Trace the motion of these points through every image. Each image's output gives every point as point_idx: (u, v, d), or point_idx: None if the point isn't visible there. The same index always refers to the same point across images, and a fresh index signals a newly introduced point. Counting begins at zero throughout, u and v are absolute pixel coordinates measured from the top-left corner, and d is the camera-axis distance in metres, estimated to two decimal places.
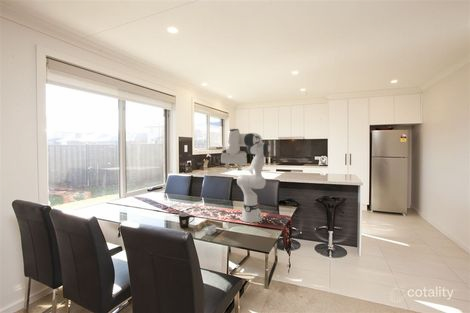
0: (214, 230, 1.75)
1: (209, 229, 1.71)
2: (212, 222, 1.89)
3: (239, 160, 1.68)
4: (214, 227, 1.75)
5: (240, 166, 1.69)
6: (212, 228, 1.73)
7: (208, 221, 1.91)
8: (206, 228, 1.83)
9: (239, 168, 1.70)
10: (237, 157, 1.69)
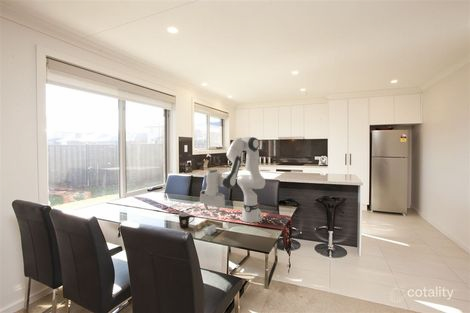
0: (214, 230, 1.76)
1: (209, 229, 1.71)
2: (212, 222, 1.89)
3: (217, 202, 1.68)
4: (214, 227, 1.75)
5: (218, 208, 1.69)
6: (212, 228, 1.73)
7: (208, 221, 1.91)
8: (206, 228, 1.83)
9: (217, 210, 1.70)
10: (215, 199, 1.69)
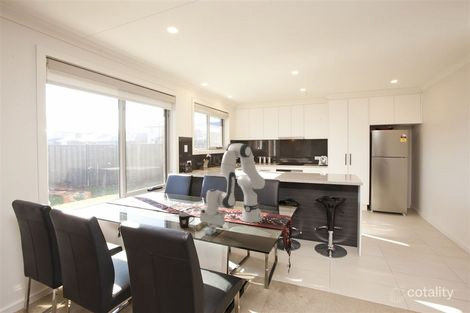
0: (214, 230, 1.75)
1: (209, 229, 1.71)
2: None
3: (217, 221, 1.69)
4: None
5: (215, 226, 1.72)
6: (212, 228, 1.73)
7: None
8: (206, 228, 1.83)
9: (214, 228, 1.72)
10: (215, 218, 1.70)
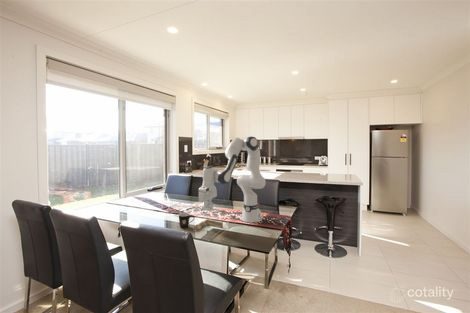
0: None
1: (212, 204, 1.81)
2: (212, 222, 1.89)
3: (214, 194, 1.86)
4: None
5: (211, 200, 1.85)
6: None
7: (208, 221, 1.91)
8: (206, 228, 1.83)
9: None
10: (212, 192, 1.85)
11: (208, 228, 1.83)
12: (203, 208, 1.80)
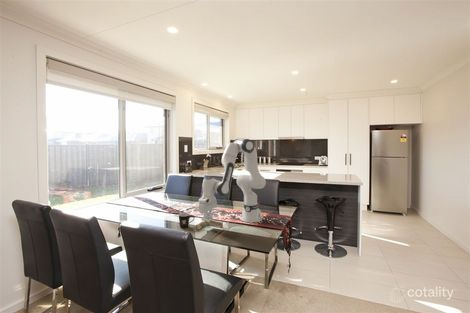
0: None
1: (212, 215, 1.81)
2: (212, 222, 1.89)
3: (214, 205, 1.87)
4: None
5: (211, 211, 1.85)
6: None
7: None
8: (206, 228, 1.83)
9: None
10: (212, 203, 1.85)
11: (208, 228, 1.83)
12: (203, 219, 1.80)
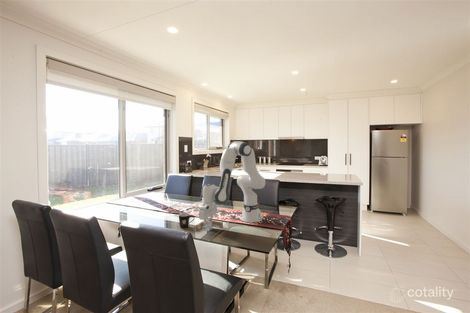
0: None
1: (212, 223, 1.82)
2: None
3: (214, 211, 1.87)
4: None
5: (212, 216, 1.87)
6: None
7: None
8: None
9: None
10: (212, 209, 1.86)
11: None
12: (203, 227, 1.81)
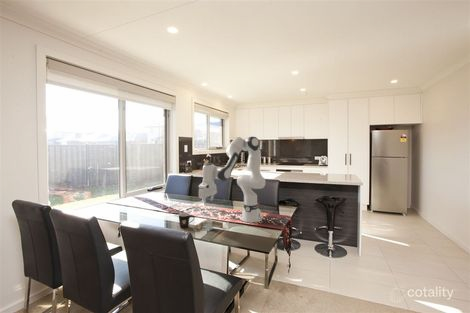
0: None
1: (212, 223, 1.82)
2: None
3: (214, 191, 1.86)
4: None
5: (213, 196, 1.87)
6: None
7: None
8: None
9: None
10: (212, 189, 1.85)
11: None
12: (203, 227, 1.81)
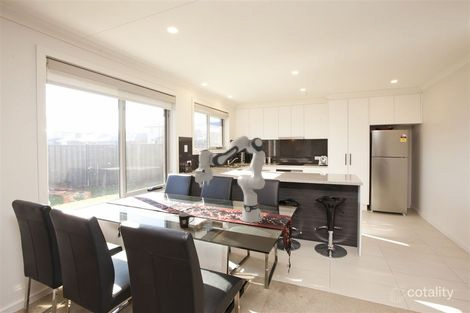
0: None
1: (212, 223, 1.82)
2: None
3: (210, 176, 1.96)
4: None
5: (209, 181, 1.97)
6: None
7: None
8: None
9: (208, 183, 1.97)
10: (208, 174, 1.95)
11: None
12: (203, 227, 1.81)
